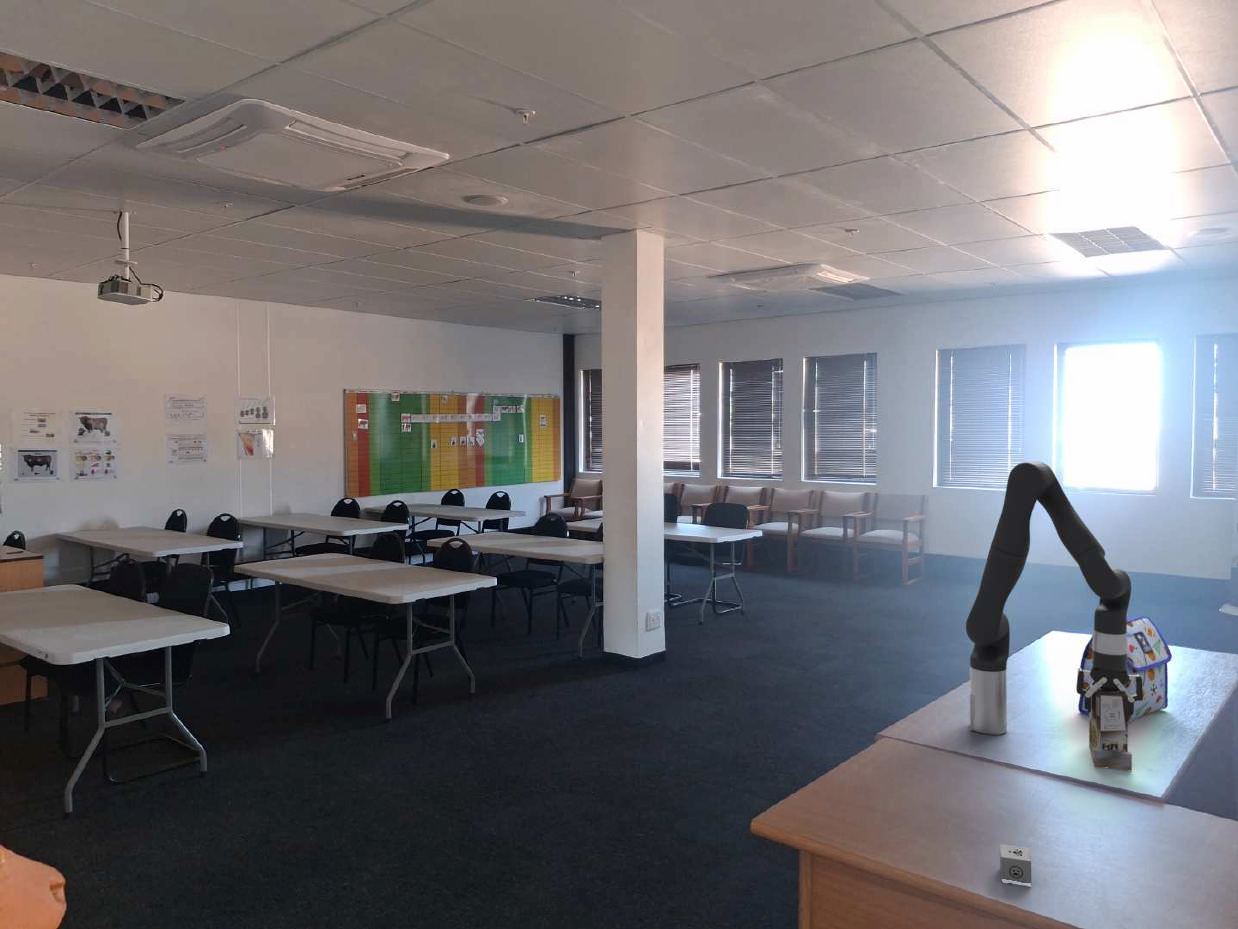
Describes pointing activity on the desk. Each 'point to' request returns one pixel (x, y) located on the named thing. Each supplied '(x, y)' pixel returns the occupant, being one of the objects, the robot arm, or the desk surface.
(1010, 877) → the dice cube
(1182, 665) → the desk surface
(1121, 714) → the coffee box
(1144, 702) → the lunch bag
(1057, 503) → the robot arm
